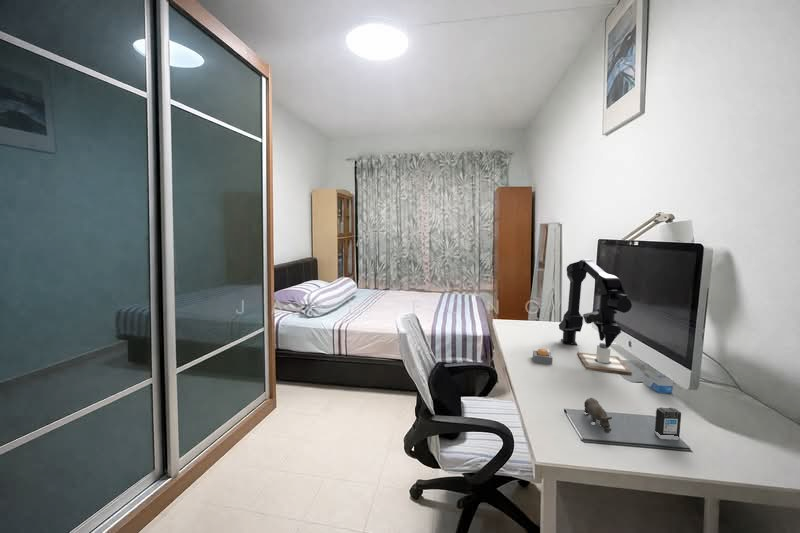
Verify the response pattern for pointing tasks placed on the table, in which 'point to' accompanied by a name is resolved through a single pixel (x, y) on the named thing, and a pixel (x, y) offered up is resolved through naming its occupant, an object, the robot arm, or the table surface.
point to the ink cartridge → (668, 421)
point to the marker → (603, 353)
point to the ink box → (657, 380)
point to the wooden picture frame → (603, 364)
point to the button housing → (542, 358)
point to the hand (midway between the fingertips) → (604, 343)
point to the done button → (542, 352)
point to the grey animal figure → (597, 413)
